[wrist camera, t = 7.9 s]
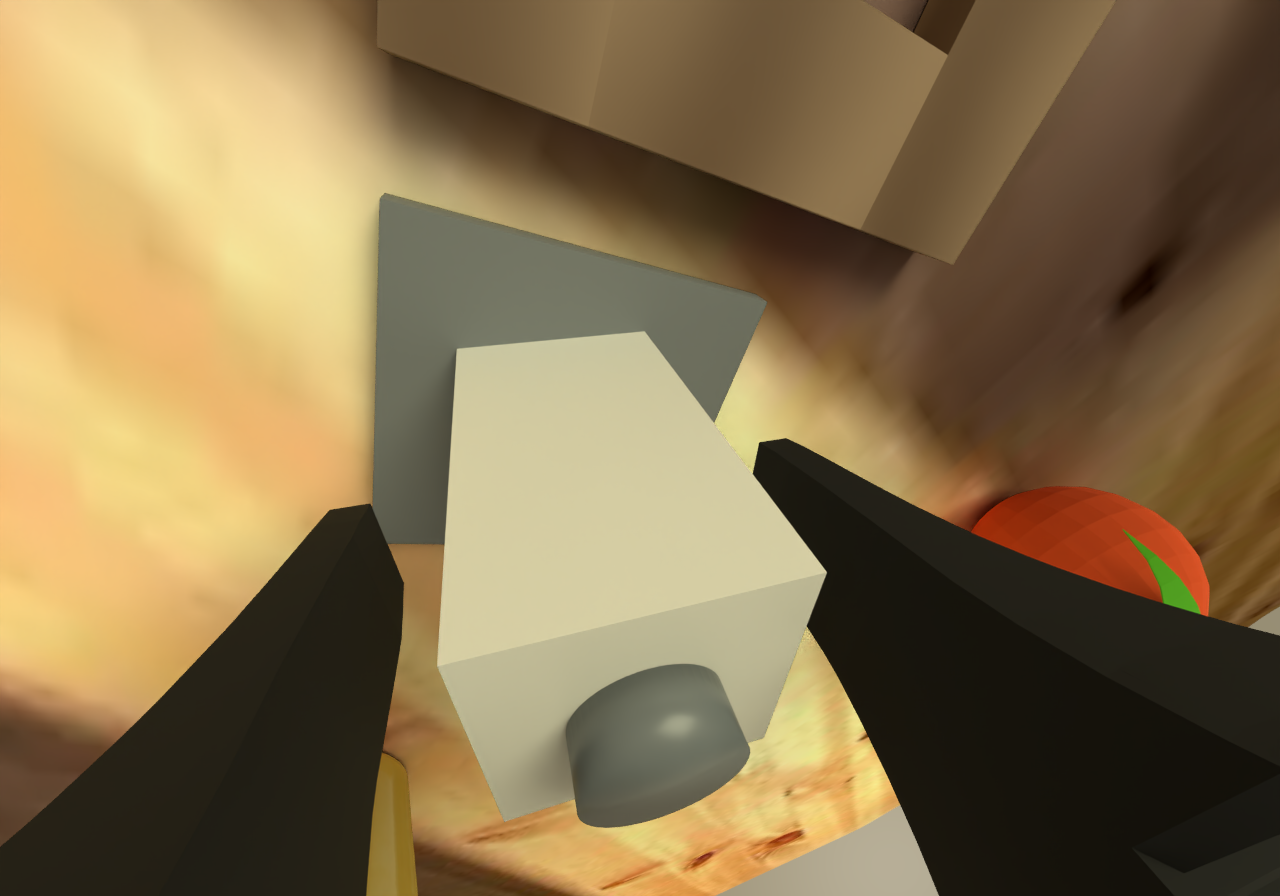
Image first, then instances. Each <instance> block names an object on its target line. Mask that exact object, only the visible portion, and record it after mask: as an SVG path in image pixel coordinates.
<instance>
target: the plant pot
mask: <svg viewBox="0 0 1280 896" xmlns="http://www.w3.org/2000/svg"><path fill="white" fill-rule="evenodd" d="M366 896H418V892H417V881H416V870H415V858H414V847H413V835H412V824H411V811H410V798H409V785H408V776H407V772H406V770H405V768H404V767H403V765H402V764H401V763H400V762H399V761H398V760H396V759H395V758H393V757H391V756H389V755H387V754H385V753H382V755H381V761H380V767H379V772H378V778H377V785H376V793H375V800H374V808H373V816H372V829H371V842H370V854H369V867H368V880H367V894H366Z"/></svg>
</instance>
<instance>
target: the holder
mask: <svg viewBox="0 0 1280 896" xmlns="http://www.w3.org/2000/svg"><path fill="white" fill-rule="evenodd" d="M1115 2H1116V0H929V1H928V3H927V5H926V7H925V9H924V12H923V14H922V16H921V18H920V20H919V22H918V24H917V27H916V29H915V31H914V33H913V32H911V31H910V30H908V29H907V28H905V27H903V26H902V25H900V24H899V23H897V22H896V21H894V20H893V19H891V18H889V17H888V16H886V15H885V14H883V13H882V12H880V11H879V10H877V9H875V8H874V7H872V6H871V5H869V4H868V3H866V2H865V1H863V0H378V2H377V47H378V48H380V49H381V50H383V51H385V52H386V53H388V54H390V55H393V56H396V57H398V58H401V59H404V60H406V61H409V62H412V63H414V64H417V65H420V66H422V67H425V68H428V69H430V70H433V71H436V72H438V73H441V74H444V75H446V76H449V77H451V78H454V79H457V80H459V81H462V82H465V83H467V84H470V85H473V86H475V87H478V88H481V89H483V90H486V91H489V92H491V93H494V94H497V95H499V96H502V97H505V98H507V99H510V100H513V101H515V102H518V103H521V104H523V105H526V106H528V107H531V108H534V109H536V110H539V111H542V112H544V113H547V114H550V115H552V116H555V117H558V118H560V119H563V120H566V121H568V122H571V123H574V124H576V125H579V126H582V127H584V128H587V129H590V130H592V131H595V132H598V133H600V134H603V135H605V136H608V137H611V138H613V139H616V140H619V141H621V142H624V143H627V144H629V145H632V146H635V147H637V148H640V149H643V150H645V151H648V152H651V153H653V154H656V155H659V156H661V157H664V158H667V159H669V160H672V161H675V162H677V163H680V164H682V165H685V166H688V167H690V168H693V169H696V170H698V171H701V172H704V173H706V174H709V175H712V176H714V177H717V178H720V179H722V180H725V181H728V182H730V183H733V184H736V185H738V186H741V187H744V188H746V189H749V190H752V191H754V192H757V193H759V194H762V195H765V196H767V197H770V198H773V199H775V200H778V201H781V202H783V203H786V204H789V205H791V206H794V207H797V208H799V209H802V210H805V211H807V212H810V213H813V214H815V215H818V216H821V217H823V218H826V219H829V220H831V221H834V222H836V223H839V224H842V225H844V226H847V227H850V228H852V229H855V230H858V231H860V232H863V233H866V234H868V235H871V236H874V237H876V238H879V239H882V240H884V241H887V242H890V243H892V244H895V245H898V246H900V247H903V248H906V249H908V250H911V251H913V252H916V253H919V254H922V255H925V256H928V257H931V258H934V259H937V260H940V261H943V262H946V263H949V264H952V265H953V264H954V262H955V261H956V259H957V258H958V256H959V254H960V253H961V251H962V249H963V248H964V246H965V245H966V243H967V241H968V240H969V238H970V236H971V235H972V233H973V232H974V230H975V228H976V227H977V225H978V224H979V222H980V220H981V219H982V217H983V215H984V214H985V212H986V211H987V209H988V207H989V206H990V204H991V202H992V201H993V199H994V198H995V196H996V194H997V193H998V191H999V189H1000V188H1001V186H1002V185H1003V183H1004V181H1005V180H1006V178H1007V177H1008V175H1009V173H1010V172H1011V170H1012V168H1013V167H1014V165H1015V164H1016V162H1017V160H1018V159H1019V157H1020V155H1021V154H1022V152H1023V151H1024V149H1025V147H1026V146H1027V144H1028V143H1029V141H1030V139H1031V138H1032V136H1033V134H1034V133H1035V131H1036V130H1037V128H1038V126H1039V125H1040V123H1041V121H1042V120H1043V118H1044V117H1045V115H1046V113H1047V112H1048V110H1049V109H1050V107H1051V105H1052V104H1053V102H1054V100H1055V99H1056V97H1057V96H1058V94H1059V92H1060V91H1061V89H1062V87H1063V86H1064V84H1065V83H1066V81H1067V79H1068V78H1069V76H1070V75H1071V73H1072V71H1073V70H1074V68H1075V66H1076V65H1077V63H1078V62H1079V60H1080V58H1081V57H1082V55H1083V53H1084V52H1085V50H1086V49H1087V47H1088V45H1089V44H1090V42H1091V40H1092V39H1093V37H1094V36H1095V34H1096V32H1097V31H1098V29H1099V28H1100V26H1101V24H1102V23H1103V21H1104V19H1105V18H1106V16H1107V15H1108V13H1109V11H1110V10H1111V8H1112V6H1113V5H1114V3H1115Z"/></svg>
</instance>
